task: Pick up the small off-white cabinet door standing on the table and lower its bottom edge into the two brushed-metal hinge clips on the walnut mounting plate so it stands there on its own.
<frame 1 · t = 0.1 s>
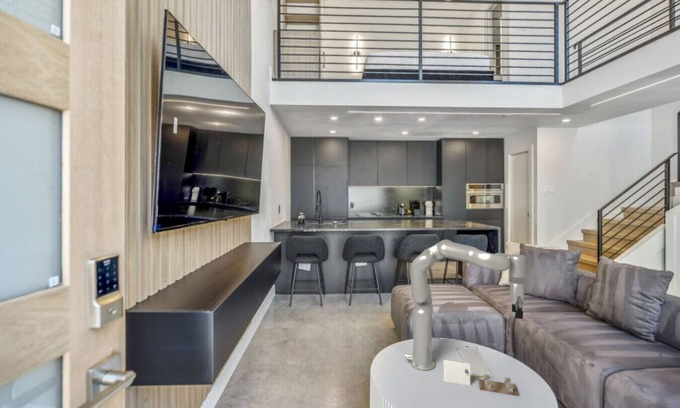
hand: (517, 315, 165), 31 cm above the table, tool pointing down, fingers open, 9 cm apart
hinge mount: (497, 388, 157), on the table
baseboard molding: (472, 364, 182), on the table
cabinet door: (456, 381, 163), on the table
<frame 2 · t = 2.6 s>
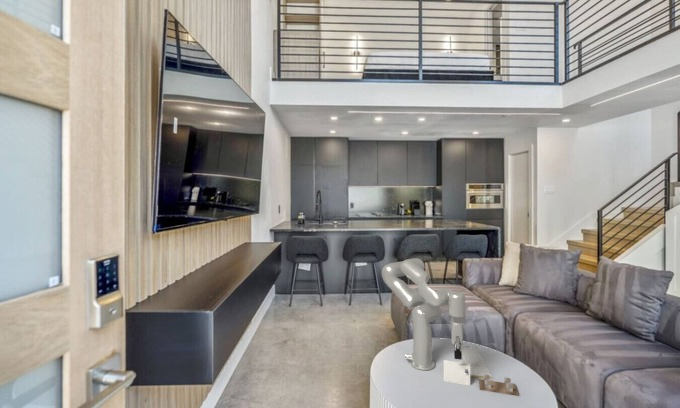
hand: (457, 354, 162), 13 cm above the table, tool pointing down, fingers open, 9 cm apart
nothing on the table moved.
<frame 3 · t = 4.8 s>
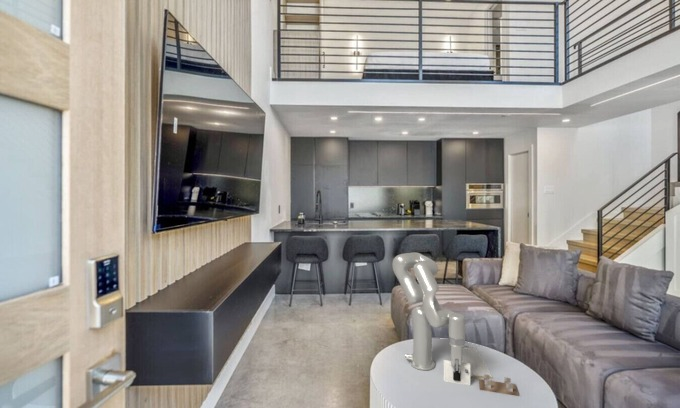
hand: (456, 378, 163), 2 cm above the table, tool pointing down, fingers closed on cabinet door, 3 cm apart
cabinet door: (456, 381, 163), on the table, touching gripper
everything else where it was.
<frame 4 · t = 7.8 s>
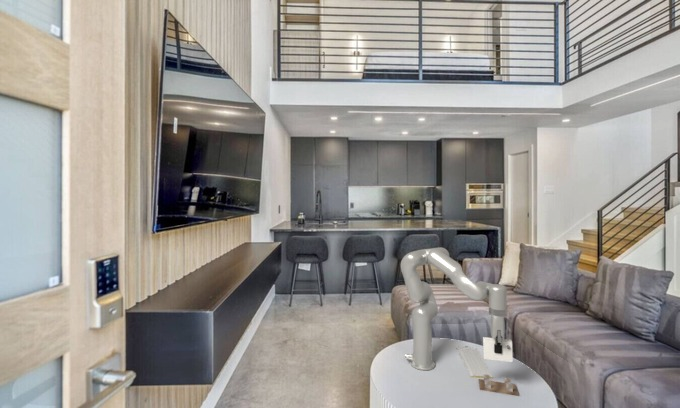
hand: (497, 351, 157), 17 cm above the table, tool pointing down, fingers closed on cabinet door, 3 cm apart
cabinet door: (497, 359, 157), point 14 cm above the table, touching gripper
everything else where it was.
when the fingers open (4 cm above the table, at t = 11.0 s): cabinet door stays where it is, resting on hinge mount.
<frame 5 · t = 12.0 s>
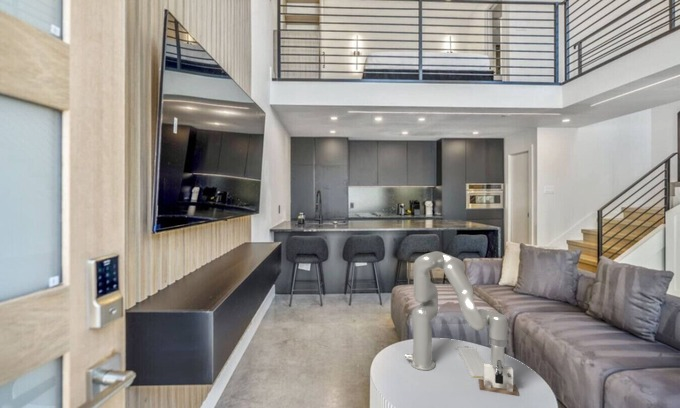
hand: (497, 377, 157), 5 cm above the table, tool pointing down, fingers open, 9 cm apart
cabinet door: (498, 386, 157), point 1 cm above the table, touching hinge mount
everything else where it was.
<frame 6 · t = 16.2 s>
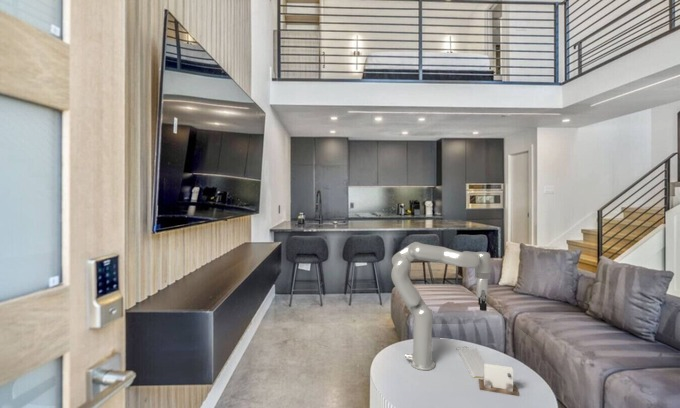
hand: (482, 307, 179), 30 cm above the table, tool pointing down, fingers open, 9 cm apart
nothing on the table moved.
at the end: cabinet door 0.2 cm off-centre on the hinge mount, point 1.0 cm above the hinge mount's base; cabinet door tilted 0°; the gripper is holding nothing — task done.
